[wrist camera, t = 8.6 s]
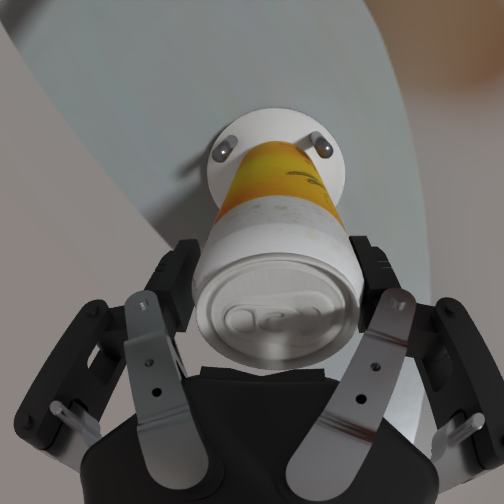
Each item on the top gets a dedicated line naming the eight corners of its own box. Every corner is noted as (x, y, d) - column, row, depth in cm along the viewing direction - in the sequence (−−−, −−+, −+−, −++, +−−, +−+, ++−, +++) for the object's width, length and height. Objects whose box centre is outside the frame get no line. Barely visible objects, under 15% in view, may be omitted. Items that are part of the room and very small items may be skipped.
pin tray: (202, 114, 20) (178, 124, 15) (342, 107, 18) (362, 115, 14) (219, 232, 26) (205, 270, 21) (338, 229, 25) (351, 267, 20)
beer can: (313, 212, 22) (349, 373, 10) (240, 211, 23) (200, 371, 10) (317, 139, 19) (393, 246, 7) (236, 139, 20) (164, 243, 7)
